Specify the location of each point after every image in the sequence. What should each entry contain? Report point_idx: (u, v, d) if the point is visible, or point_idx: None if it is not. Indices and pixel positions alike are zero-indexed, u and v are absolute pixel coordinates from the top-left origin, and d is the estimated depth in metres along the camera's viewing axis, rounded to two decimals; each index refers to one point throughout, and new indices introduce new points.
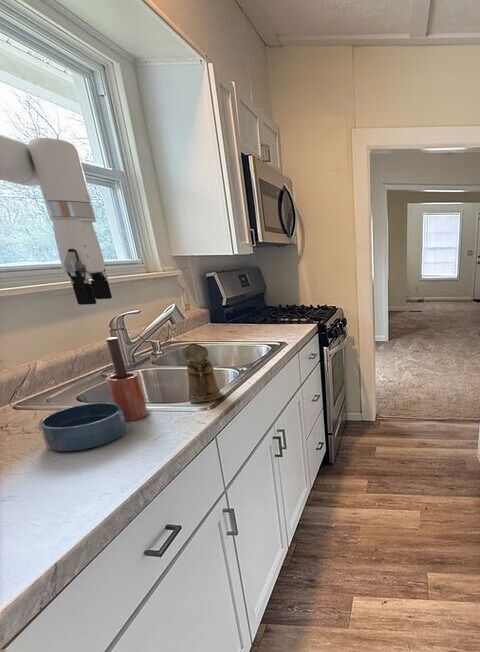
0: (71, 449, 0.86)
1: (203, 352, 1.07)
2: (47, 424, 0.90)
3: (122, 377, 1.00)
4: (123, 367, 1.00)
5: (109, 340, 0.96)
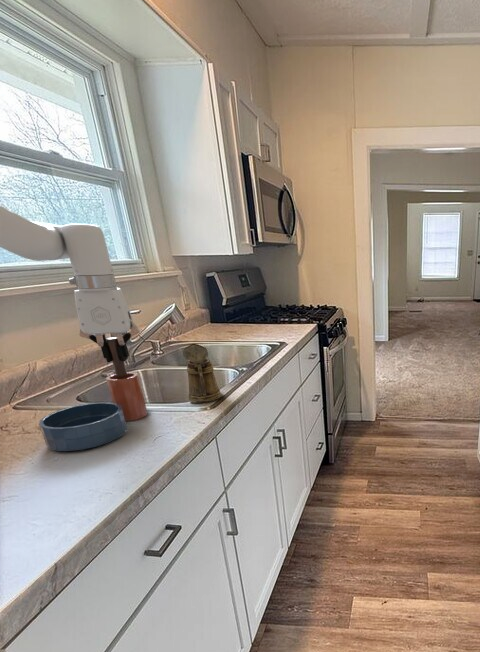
0: (71, 449, 0.86)
1: (203, 352, 1.07)
2: (47, 424, 0.90)
3: (122, 377, 1.00)
4: (123, 367, 1.00)
5: (109, 340, 0.96)
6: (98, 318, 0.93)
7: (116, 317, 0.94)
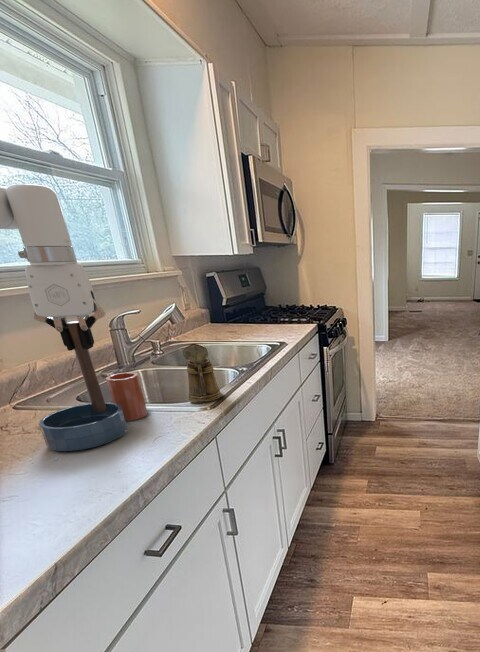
0: (71, 449, 0.86)
1: (203, 352, 1.07)
2: (47, 424, 0.90)
3: (86, 368, 0.87)
4: (87, 356, 0.86)
5: (69, 324, 0.83)
6: (54, 298, 0.79)
7: (76, 297, 0.80)
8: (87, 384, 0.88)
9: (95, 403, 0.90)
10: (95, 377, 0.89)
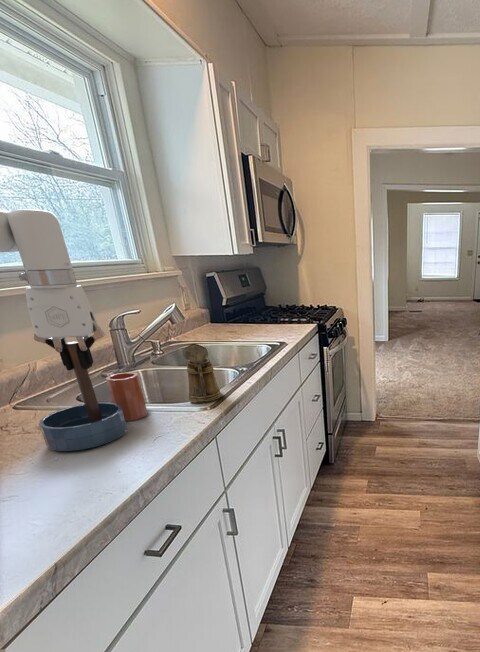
0: (71, 449, 0.86)
1: (203, 352, 1.07)
2: (47, 424, 0.90)
3: (85, 387, 0.88)
4: (86, 376, 0.87)
5: (69, 345, 0.84)
6: (54, 320, 0.80)
7: (75, 318, 0.81)
8: (86, 403, 0.89)
9: (93, 421, 0.91)
10: (94, 396, 0.90)
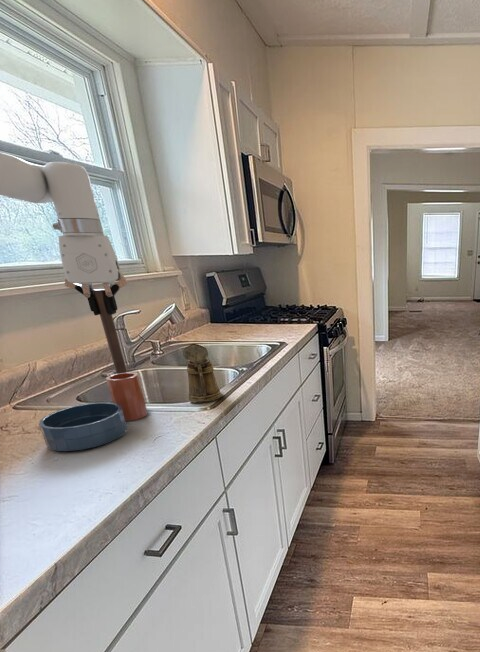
0: (71, 449, 0.86)
1: (203, 352, 1.07)
2: (47, 424, 0.90)
3: (110, 332, 0.96)
4: (111, 321, 0.96)
5: (96, 291, 0.92)
6: (84, 266, 0.88)
7: (103, 265, 0.89)
8: (110, 347, 0.97)
9: (117, 365, 0.99)
10: (117, 341, 0.98)
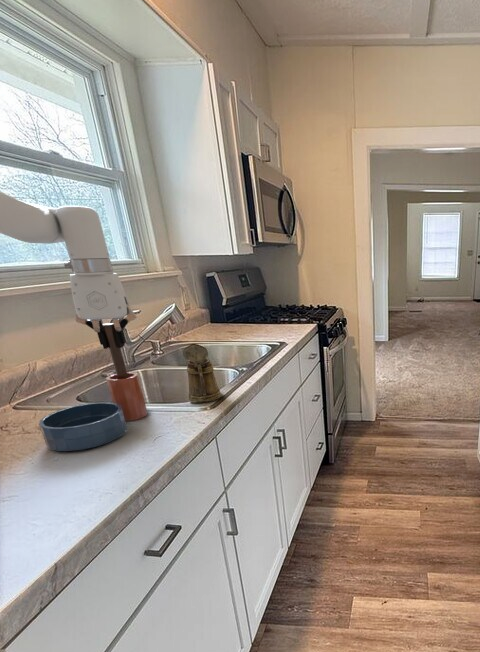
0: (71, 449, 0.86)
1: (203, 352, 1.07)
2: (47, 424, 0.90)
3: (119, 364, 0.99)
4: (120, 354, 0.99)
5: (105, 326, 0.95)
6: (94, 303, 0.91)
7: (112, 302, 0.92)
8: (119, 378, 1.00)
9: None
10: (126, 372, 1.01)
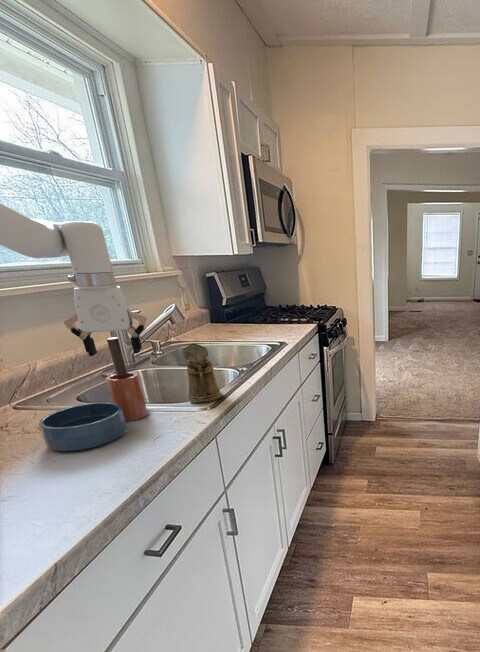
0: (71, 449, 0.86)
1: (203, 352, 1.07)
2: (47, 424, 0.90)
3: (122, 377, 1.00)
4: (123, 367, 1.00)
5: (110, 340, 0.97)
6: (97, 316, 0.93)
7: (115, 315, 0.94)
8: None
9: None
10: None
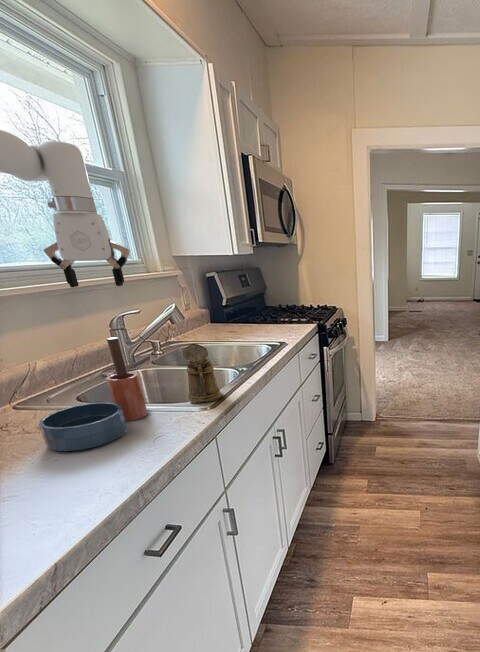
0: (71, 449, 0.86)
1: (203, 352, 1.07)
2: (47, 424, 0.90)
3: (122, 377, 1.00)
4: (123, 367, 1.00)
5: (110, 340, 0.97)
6: (78, 243, 0.91)
7: (96, 243, 0.92)
8: None
9: None
10: None
